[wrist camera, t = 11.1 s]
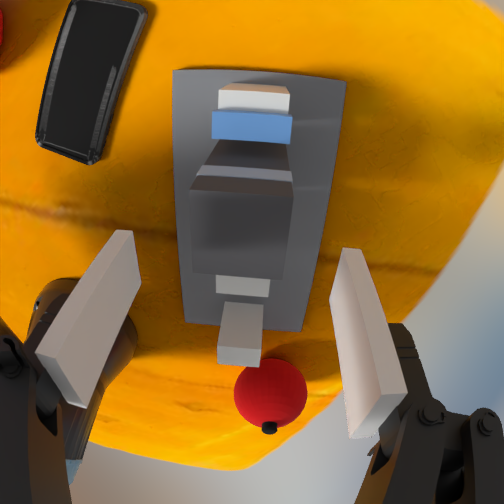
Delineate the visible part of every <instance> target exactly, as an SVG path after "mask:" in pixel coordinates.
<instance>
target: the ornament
mask: <svg viewBox="0 0 504 504" xmlns="http://www.w3.org/2000/svg"><path fill="white" fill-rule="evenodd" d="M306 400H307V386H306V382H305V380H304V378H303V376H302V374H301V373H300V371H299V370H298V369H297V368H296V367H294V366H293V365H292V364H290V363H289V362H286V361H284V360H280V359H274V358H268V359H262V360H260V364H259V367H248V366H247V367H246V368H245V369H244V370H243V371H242V372H241V374H240V375H239V377H238V379H237V381H236V384H235V388H234V401H235V404H236V407H237V409H238V411H239V413H240V414H241V415H242V416H243V417H244V418H245V419H246V420H247V421H248V422H250V423H251V424H253V425H255V426H258V427H262V432H263V433H265V434H274V433H276V432H277V428H279V427H283V426H285V425H287V424H289V423H291V422H292V421H294V420H295V419H296V418H297V417H298V416H299V415H300V413H301V412H302V410H303V409H304V407H305V404H306Z"/></svg>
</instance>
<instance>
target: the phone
mask: <svg viewBox="0 0 504 504" xmlns="http://www.w3.org/2000/svg"><path fill="white" fill-rule="evenodd" d="M147 17H148V12H147V10H146V8H145V7H144V6H142V5H139V4H136V3H131V2H126V1H121V0H71V2H70V3H69V5H68V8H67V11H66V13H65V16H64V19H63V22H62V25H61V28H60V31H59V34H58V37H57V40H56V43H55V47H54V50H53V54H52V57H51V61H50V65H49V68H48V72H47V76H46V81H45V85H44V89H43V94H42V99H41V104H40V109H39V114H38V120H37V126H36V132H35V138H36V142H37V144H38V145H39V146H40V147H42V148H45V149H47V150H50V151H52V152H55V153H58V154H60V155H63V156H65V157H68V158H70V159H73V160H76V161H78V162H81V163H83V164H86V165H93V164H94V163H96V162H97V161H99V160H100V158H101V156H102V154H103V150H104V146H105V142H106V138H107V135H108V132H109V128H110V123H111V121H112V118H113V112H114V109H115V106H116V102H117V99H118V96H119V93H120V90H121V87H122V84H123V81H124V78H125V75H126V72H127V69H128V66H129V63H130V61H131V58H132V55H133V53H134V50H135V47H136V45H137V42H138V40H139V37H140V35H141V32H142V30H143V27H144V25H145V23H146V20H147Z"/></svg>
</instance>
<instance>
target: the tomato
mask: <svg viewBox="0 0 504 504" xmlns="http://www.w3.org/2000/svg"><path fill="white" fill-rule="evenodd" d="M2 35H3V14H2V12H1V9H0V45H1V44H2Z"/></svg>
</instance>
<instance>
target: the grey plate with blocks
mask: <svg viewBox="0 0 504 504" xmlns="http://www.w3.org/2000/svg"><path fill="white" fill-rule="evenodd" d="M346 83H347V82H345V81H340V80H334V79H328V78H321V77H314V76H306V75H297V74H288V73H277V72H265V71H249V70H222V69H188V70H173V88H172V121H173V166H174V191H175V210H176V226H177V241H178V254H179V266H180V277H181V288H182V298H183V307H184V316H185V322H189V323H198V324H207V325H216V326H220V332H219V338H218V343H217V360H218V364H226V365H236V366H248V367H259V364H260V357H261V348H262V330H275V331H291V332H301V329H302V325H303V321H304V317H305V312H306V308H307V304H308V299H309V295H310V291H311V286H312V282H313V277H314V272H315V268H316V263H317V258H318V254H319V249H320V244H321V239H322V234H323V229H324V223H325V218H326V213H327V207H328V202H329V196H330V191H331V185H332V179H333V173H334V167H335V161H336V155H337V148H338V142H339V135H340V128H341V121H342V114H343V107H344V99H345V91H346ZM219 139H227V140H245V141H259V142H271V143H282V144H286V148H287V155H288V161H289V168H290V171H291V173H292V180H293V183H292V188H293V195H294V200H293V207H292V215H291V222H290V230H289V237H288V244H287V251H286V258H285V265H284V272H283V279H282V280H271V279H259V278H247V277H235V276H223V275H212V274H201V273H193V270H192V252H191V231H190V205H189V189H190V187H191V186H192V184H193V182H194V180H195V179H196V177H197V173H198V171H199V169H200V168H201V166H202V165H204V164H205V162H206V160H207V159H208V157H209V155H210V154H211V152H212V151H213V149H214V147H215V146H216V144H217V143H218V141H219Z"/></svg>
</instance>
